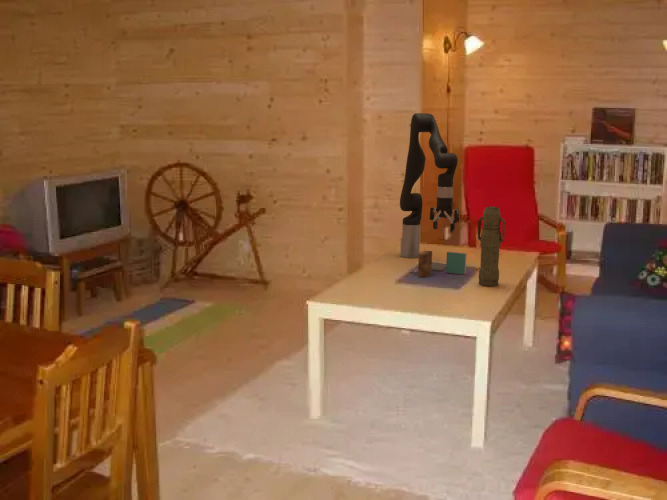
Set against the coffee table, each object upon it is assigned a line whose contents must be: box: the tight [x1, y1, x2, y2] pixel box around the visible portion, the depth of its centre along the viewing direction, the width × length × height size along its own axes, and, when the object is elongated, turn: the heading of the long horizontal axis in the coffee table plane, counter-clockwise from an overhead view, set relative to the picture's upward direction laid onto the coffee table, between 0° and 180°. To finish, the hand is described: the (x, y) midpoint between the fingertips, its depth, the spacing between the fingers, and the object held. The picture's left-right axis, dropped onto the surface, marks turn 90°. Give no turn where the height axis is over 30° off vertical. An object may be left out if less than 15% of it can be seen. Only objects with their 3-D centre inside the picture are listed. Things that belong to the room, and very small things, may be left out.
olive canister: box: [477, 206, 506, 288], centre depth 345 cm, size 9×12×35 cm
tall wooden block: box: [417, 249, 433, 278], centre depth 363 cm, size 4×8×11 cm, turn 156°
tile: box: [445, 250, 467, 275], centre depth 369 cm, size 9×2×10 cm, turn 66°
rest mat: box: [431, 261, 446, 272], centre depth 381 cm, size 12×14×1 cm
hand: (443, 230), depth 365 cm, fingers open, 8 cm apart
